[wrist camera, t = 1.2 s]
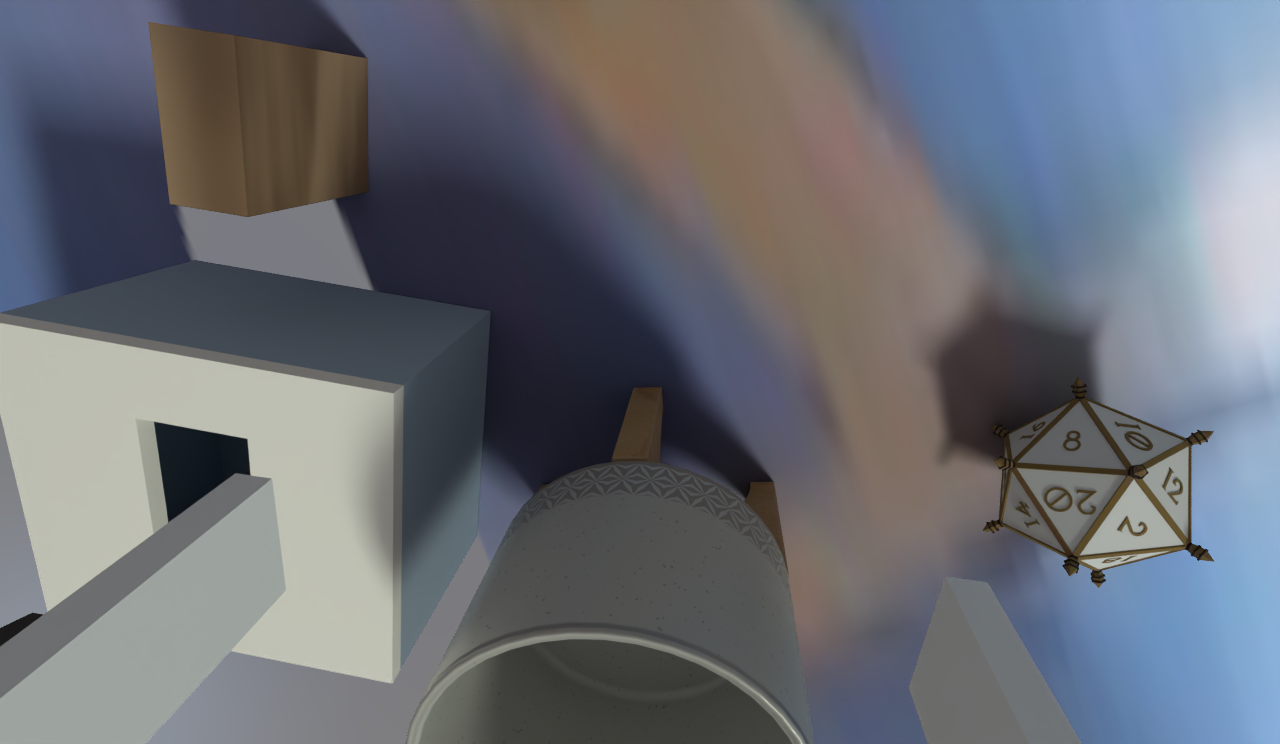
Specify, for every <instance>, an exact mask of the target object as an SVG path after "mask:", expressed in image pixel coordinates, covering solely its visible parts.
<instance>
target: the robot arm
mask: <svg viewBox="0 0 1280 744" xmlns="http://www.w3.org/2000/svg"><path fill="white" fill-rule="evenodd" d="M285 591H286V585H285V577H284V569H283V561H282V553H281V545H280V537H279V529H278V521H277V513H276V505H275V497H274V489H273V481H272V478H265V477H258V476H251V475H244V474H237V473H235V474H234V475H233V476H231V477H230V478H228V479H227V480H226V481H224V482H223V483H222V484H220V485H219V486H218V487H216V488H215V489H214V490H212V491H211V492H209V493H208V494H207V495H205V496H204V497H203V498H201V499H200V500H199V501H197V502H196V503H195V504H193V505H192V506H190V507H189V508H188V509H186V510H185V511H184V512H182V513H181V514H180V515H178V516H177V517H176V518H174V519H173V520H171V521H170V522H169V523H167V524H166V525H165V526H163V527H162V528H161V529H159V530H158V531H157V532H155V533H154V534H152V535H151V536H150V537H148V538H147V539H146V540H144V541H143V542H142V543H140V544H139V545H138V546H136V547H135V548H133V549H132V550H131V551H129V552H128V553H127V554H125V555H124V556H123V557H121V558H120V559H119V560H117V561H116V562H114V563H113V564H112V565H110V566H109V567H108V568H106V569H105V570H104V571H102V572H101V573H100V574H98V575H97V576H95V577H94V578H93V579H91V580H90V581H89V582H87V583H86V584H85V585H83V586H82V587H81V588H79V589H78V590H76V591H75V592H74V593H72V594H71V595H70V596H68V597H67V598H66V599H64V600H63V601H62V602H60V603H59V604H57V605H56V606H55V607H53V608H52V609H51V610H49V611H48V612H47V613H45V614H44V615H43V614H36V613H31V614H29V615H27V616H25V617H23V618H20V619H18V620H16V621H14V622H12V623H10V624H8V625H6V626H4V627H1V628H0V744H146V743H147V742H148V741H149V739H151V737H152V736H153V735H154V734H155V733H156V732H157V731H158V730H159V729H160V728H161V727H162V725H163V724H164V723H165V722H166V721H167V720H168V719H169V718H170V717H171V716H172V714H173V713H174V712H175V711H176V710H177V709H178V708H179V707H180V706H181V705H182V703H183V702H184V701H185V700H186V699H187V698H188V697H189V696H190V695H191V694H192V693H193V692H194V690H195V689H196V688H197V687H198V686H199V685H200V684H201V683H202V682H203V681H204V679H205V678H206V677H207V676H208V675H209V674H210V673H211V672H212V671H213V669H214V668H215V667H216V666H217V665H218V664H219V663H220V662H221V661H222V660H223V659H224V657H225V656H226V655H227V654H228V653H229V652H230V651H231V650H232V649H233V648H234V647H235V646H236V644H237V643H238V642H239V641H240V640H241V639H242V638H243V637H244V636H245V635H246V633H247V632H248V631H249V630H250V629H251V628H252V627H253V626H254V625H255V624H256V623H257V621H258V620H259V619H260V618H261V617H262V616H263V615H264V614H265V613H266V612H267V610H268V609H269V608H270V607H271V606H272V605H273V604H274V603H275V602H276V601H277V600H278V598H279V597H280V596H281V595H282V594H283V593H284V592H285ZM909 689H910V692H911V695H912V698H913V701H914V704H915V707H916V710H917V713H918V716H919V719H920V722H921V725H922V728H923V731H924V734H925V737H926V740H927V743H928V744H1081V742H1080V740H1079V738H1078V737H1077V735H1076V733H1075V732H1074V730H1073V728H1072V726H1071V725H1070V723H1069V721H1068V720H1067V718H1066V716H1065V714H1064V713H1063V711H1062V709H1061V708H1060V706H1059V704H1058V702H1057V701H1056V699H1055V697H1054V696H1053V694H1052V692H1051V690H1050V689H1049V687H1048V685H1047V684H1046V682H1045V680H1044V679H1043V677H1042V675H1041V673H1040V672H1039V670H1038V668H1037V667H1036V665H1035V663H1034V661H1033V660H1032V658H1031V656H1030V655H1029V653H1028V651H1027V649H1026V648H1025V646H1024V644H1023V643H1022V641H1021V639H1020V637H1019V636H1018V634H1017V632H1016V631H1015V629H1014V627H1013V625H1012V624H1011V622H1010V620H1009V619H1008V617H1007V615H1006V614H1005V612H1004V610H1003V608H1002V607H1001V605H1000V603H999V602H998V600H997V598H996V596H995V595H994V593H993V591H992V590H991V588H990V586H989V584H988V583H987V582H980V581H973V580H966V579H960V578H953V577H946V576H945V579H944V582H943V585H942V588H941V591H940V594H939V597H938V600H937V603H936V606H935V609H934V612H933V615H932V618H931V622H930V625H929V628H928V631H927V634H926V637H925V640H924V643H923V646H922V649H921V652H920V655H919V658H918V661H917V665H916V668H915V671H914V674H913V677H912V680H911V683H910V686H909Z"/></svg>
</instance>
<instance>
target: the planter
mask: <svg viewBox="0 0 1280 744" xmlns="http://www.w3.org/2000/svg"><path fill="white" fill-rule="evenodd" d="M662 415H663V395H662V387H646V388H633V391H632V394H631V398H630V401H629V404H628V407H627V411H626V414H625V417H624V420H623V424H622V427H621V430H620V433H619V437H618V440H617V443H616V446H615V450H614V453H613V456H612V462H609V463H603V464H596V465H592V466H589V467H586V468H582V469H579V470H576V471H573V472H571V473H569V474H567V475H565V476H562V477H560V478H558V479H556V480H554V481H553V482H551V483H550V484H544V485H541V487H540V489H539V491H538V492H537V493H536V494H535V495H534V496H533V497H532V498H531V499H530V500H529V501H528V502H527V503H526V504H524V505H523V507H522V508H521V510H520V511H519V512H518V514H517V515H516V516H515V518H514V519H513V521H512V522H511V524H510V526H509V528H508V530H507V532H506V534H505V536H504V538H503V540H502V542H501V544H500V546H499V548H498V550H497V552H496V554H495V556H494V558H493V560H492V562H491V564H490V566H489V568H488V570H487V572H486V574H485V576H484V578H483V580H482V582H481V584H480V586H479V588H478V589H477V591H476V594H475V595H474V597H473V599H472V601H471V603H470V605H469V607H468V609H467V611H466V613H465V615H464V617H463V619H462V621H461V623H460V625H459V627H458V629H457V631H456V633H455V635H454V637H453V639H452V641H451V643H450V645H449V647H448V649H447V651H446V653H445V655H444V657H443V658H442V660H441V662H440V664H439V666H438V668H437V670H436V672H435V674H434V676H433V678H432V680H431V682H430V684H429V686H428V688H427V690H426V692H425V694H424V696H423V698H422V700H421V702H420V704H419V706H418V708H417V710H416V712H415V714H414V716H413V719H412V721H411V723H410V727H409V732H408V735H407V740H406V744H814V737H813V731H812V725H811V718H810V712H809V706H808V699H807V693H806V687H805V680H804V674H803V668H802V661H801V655H800V649H799V642H798V636H797V630H796V623H795V617H794V611H793V604H792V598H791V592H790V585H789V573H788V567H787V561H786V555H785V548H784V542H783V536H782V530H781V523H780V517H779V511H778V505H777V498H776V492H775V486H774V482H750V492H749V494H748V496H747V498H746V499H745V501H743V500H742V499H740V498H739V497H738V496H736V495H735V494H734V493H733V492H731V491H730V490H729V489H727V488H725V487H723V486H722V485H720V484H718V483H716V482H715V481H713V480H711V479H709V478H707V477H705V476H702V475H700V474H697V473H695V472H692V471H690V470H687V469H683V468H679V467H675V466H671V465H667V464H663V463H660V446H661V426H662Z"/></svg>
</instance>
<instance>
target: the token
mask: <svg viewBox="0 0 1280 744" xmlns="http://www.w3.org/2000/svg"><path fill="white" fill-rule="evenodd" d="M148 24H149V33H150V41H151V49H152V58H153V66H154V75H155V83H156V92H157V100H158V108H159V117H160V125H161V134H162V142H163V151H164V159H165V167H166V176H167V184H168V193H169V201H170V204H173V205H179V206H185V207H191V208H197V209H203V210H209V211H215V212H221V213H228V214H233V215H240V216H245V217H250V216H255V215H260V214H265V213H269V212H274V211H279V210H284V209H288V208H293V207H298V206H303V205H308V204H313V203H317V202H322V201H327V200H332V199H337V198H341V197H346V196H351V195H356V194H361V193H365V192H369V190H368V79H367V58H362V57H356V56H351V55H345V54H339V53H333V52H328V51H322V50H316V49H310V48H304V47H299V46H293V45H287V44H281V43H276V42H270V41H264V40H258V39H253V38H247V37H241V36H235V35H229V34H223V33H216V32H210V31H203V30H197V29H190V28H184V27H177V26H171V25H164V24H158V23H151V22H148Z"/></svg>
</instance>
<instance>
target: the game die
mask: <svg viewBox="0 0 1280 744" xmlns="http://www.w3.org/2000/svg"><path fill="white" fill-rule="evenodd" d="M1071 387H1073V391H1072V392H1073V393H1074V394H1075V399H1073V400H1071V401H1069V402H1067V403H1065V404H1063V405H1061V406H1059V407H1057V408H1055V409H1053V410H1052V411H1050V412H1048V413H1046V414H1044V415H1042V416H1040V417H1038V418H1036V419H1034V420H1032V421H1030V422H1029V423H1027V424H1025V425H1023V426H1021V427H1019V428H1017V429H1015V430H1013V431H1011V432H1008V431H1007V430H1006V428H1003V427H1002V425H1000V426H991V427H992V429H993V431H994V432H993V433H994V434H996V435H998V436H999V437H1004V438H1005V440H1004V454H1003V457H1001V456H1000V457H999V458H998V459H996V460H994V462H995V463H996V464H997V466H998V468H999V469H1002V482H1001V496H1000V510H999V520H997V521H993V520H991V521H992V522H986V523H987V524H986V526H985V528H984V529H983V531H987V532H993V533H994V532H995V531H999V529H1000V528H1001V527H1005V528H1007V529H1009V530H1011V531H1013V532H1015V533H1018V534H1020V535H1022V536H1024V537H1026V538H1028V539H1030V540H1032V541H1034V542H1036V543H1038V544H1040V545H1042V546H1044V547H1046V548H1048V549H1050V550H1052V551H1054V552H1056V553H1058V554H1060V555H1062V556H1064V557H1066V558H1068V559H1067V560H1064V562H1065V565H1063V567H1064V569H1065V570H1066V571H1067V573H1068V575H1069V576H1071V575H1072V574H1074V573H1077V572H1078V569H1079V567H1078V566H1079V564H1081V565H1083V566H1085V567H1087V568H1090V569H1092V570H1093V571H1092V573H1091V576H1092V577H1091V580H1092V582H1094V583H1095V584H1096V586H1097V587H1098V588H1099V587H1100V586H1101V584H1102V583H1103V582H1105V581H1106V580H1105V579H1104V576H1105V575H1104V574H1103V573H1102V570H1105V569H1109V568H1113V567H1117V566H1121V565H1125V564H1129V563H1133V562H1137V561H1141V560H1145V559H1149V558H1153V557H1157V556H1161V555H1165V554H1169V553H1173V552H1177V551H1181V550H1188V551H1189V552H1190V553H1191V556H1194V557H1196V558H1197V560H1198V561H1199V560H1206V561H1214V560H1213V559H1212V557H1211V556H1210V554H1209V553H1208V550H1207V549H1203V548H1201V546H1200V545H1199V546H1197V545H1194V544H1192V543H1191V446H1192V445H1195V444H1200V445H1201V443H1203V442H1205V441H1206V442H1208V441H1207V440H1208V439H1209V437H1210V436H1211V435H1212V433H1213V432H1214V431H1199V430H1197V431H1198V432H1196V433H1194V434H1193V433H1191V434H1192V435H1191V436H1189V437H1188V438H1184V437H1181V436H1179V435H1176V434H1174V433H1172V432H1169V431H1167V430H1164V429H1162V428H1159V427H1157V426H1154V425H1152V424H1149V423H1147V422H1145V421H1142V420H1140V419H1137V418H1135V417H1132V416H1130V415H1127V414H1125V413H1123V412H1120V411H1118V410H1115V409H1113V408H1110V407H1108V406H1105V405H1103V404H1101V403H1098V402H1096V401H1093V400H1091V399H1088V398H1086V397H1084V395H1085V392H1087V391H1086V389H1085V387H1086V384H1083V382H1082V381H1081V380H1080V379H1079V377H1078V378H1077V380H1076V381H1075V383H1074V384H1073V385H1072V386H1071Z"/></svg>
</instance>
